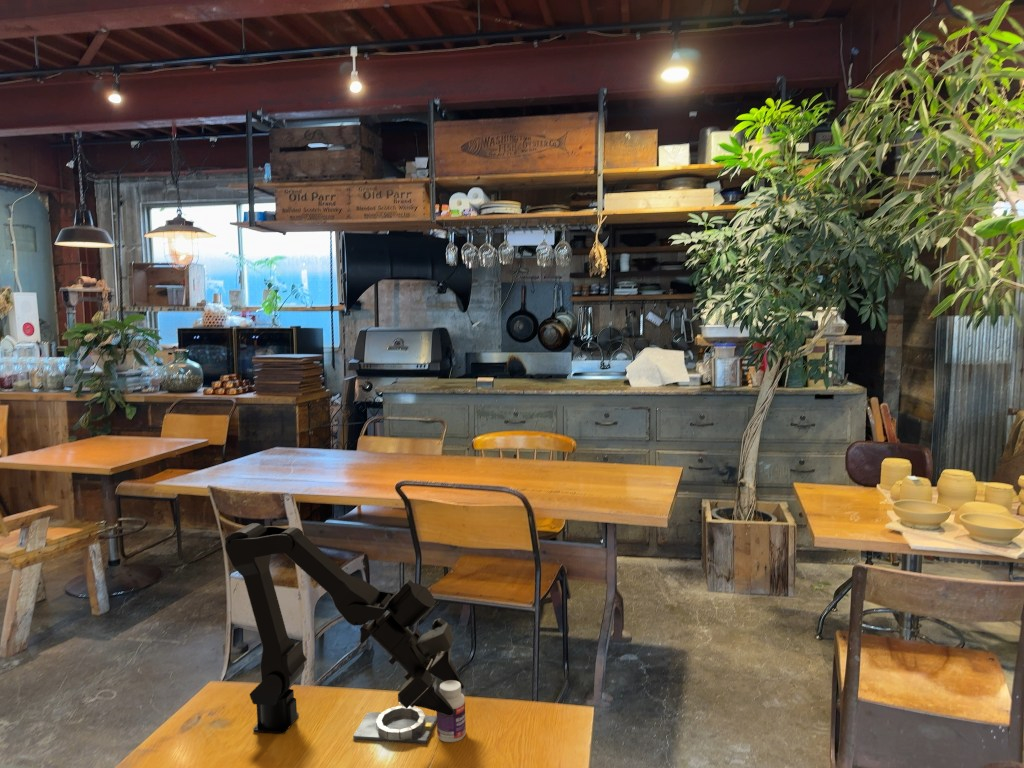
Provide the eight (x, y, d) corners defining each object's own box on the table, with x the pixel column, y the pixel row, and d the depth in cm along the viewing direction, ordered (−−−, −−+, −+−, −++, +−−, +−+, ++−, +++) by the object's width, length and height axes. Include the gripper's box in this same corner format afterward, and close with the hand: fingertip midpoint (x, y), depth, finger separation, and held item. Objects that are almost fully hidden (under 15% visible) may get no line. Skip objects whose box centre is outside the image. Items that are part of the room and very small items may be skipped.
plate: (353, 739, 127) (353, 735, 127) (368, 715, 135) (367, 711, 135) (426, 744, 125) (426, 740, 125) (436, 719, 133) (436, 715, 133)
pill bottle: (461, 744, 125) (460, 694, 124) (433, 741, 126) (431, 691, 125) (469, 727, 130) (467, 679, 130) (442, 725, 131) (440, 676, 131)
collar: (370, 738, 126) (369, 730, 126) (385, 711, 135) (385, 704, 135) (425, 742, 125) (425, 734, 125) (437, 714, 134) (437, 707, 134)
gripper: (413, 635, 118) (477, 699, 117) (439, 593, 136) (494, 649, 136) (371, 677, 119) (434, 740, 119) (402, 630, 138) (457, 685, 137)
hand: (457, 700), depth 128 cm, fingers open, 8 cm apart
